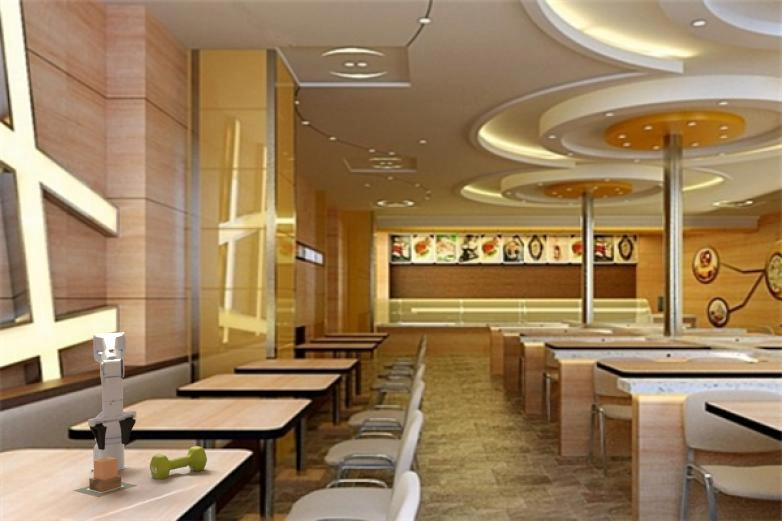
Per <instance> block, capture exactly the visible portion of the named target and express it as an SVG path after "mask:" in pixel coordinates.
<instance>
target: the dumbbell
mask: <svg viewBox="0 0 782 521" xmlns="http://www.w3.org/2000/svg"><path fill="white" fill-rule="evenodd" d="M207 462H208V457H207V454H206V451H205V448H204V447H202V446H198V445H195V446H192V447H190V448H189V449H188V451H187V454H186V455H185V456H179V457H175V458H172V459H169V458H168V457H167V455H165V454H161V453H160V454H155V455H153V456H152V457H151V459H150V463H149V469H150V474H151V477H152V478H153V479H156V480H164V479H167V478H169V476H170V472H171V471H174V470H177V469H181V468H185V467H187V466H188V468H189V469H190V470H192V471H193V472H201V471H203V470H204V469H205V467H206V465H207Z"/></svg>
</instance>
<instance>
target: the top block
mask: <svg viewBox="0 0 782 521" xmlns="http://www.w3.org/2000/svg"><path fill="white" fill-rule="evenodd" d="M93 468H94V471H93V477H94V478H95V479H99V480H107V479H110V478H114V477H118V475H119V470H118V459H117V458H112V457H105V458H101V459H97V460H94V461H93Z"/></svg>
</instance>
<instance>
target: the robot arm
mask: <svg viewBox="0 0 782 521" xmlns="http://www.w3.org/2000/svg"><path fill="white" fill-rule="evenodd" d="M92 341H93V342H92V344H93V349H92V350H93V358H94V361H95V362H97V363H99V366H100V367H99V369H100V370H99V377H100V381H101V398H102V399H101V401H102V402H101V403H102V404H101V405H102V407H101V408H102V410H101V411H100V413H99V414H97V415H96V416H95V417H93V418H88V420H87V421H88V424H87V426H88V427H89V429H90V431H91V433H92V435H93V437H94V441H95V442H96V443H95V445H94V446H93V455H92V456H93V460H92V461H93V462H94V460H97V459H101V458H105V457H112V458H117V459H118V471H120V470H123V469H128V468H131V466H129V465H125V445H128V443H129V440H130V435H131V433H132V430H133V428H134V427H135V424H136V422H137V419H136V418H137V411H136V410H129V411H124V381H123V378H124V377H125V362H124V359H125V355H126V345H127V344H126V343H127V342H126V332H124V331H122V332H108V333H97V332H96V333H94V334H93V335H92ZM90 470H91V471H93V472H94V467H92V468H90Z"/></svg>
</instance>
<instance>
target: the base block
mask: <svg viewBox="0 0 782 521" xmlns="http://www.w3.org/2000/svg"><path fill="white" fill-rule="evenodd" d="M88 480H89V482H88V483H89V484H88V486H89V489H91V490H95V491H99V492H104V491H108V490H111V489H115V488H118V487H121V482H122V476H121V475H119V474H118V477H114V478H110V479H107V480H99V479H95V478H94V476H93V477H89V479H88Z"/></svg>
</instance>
